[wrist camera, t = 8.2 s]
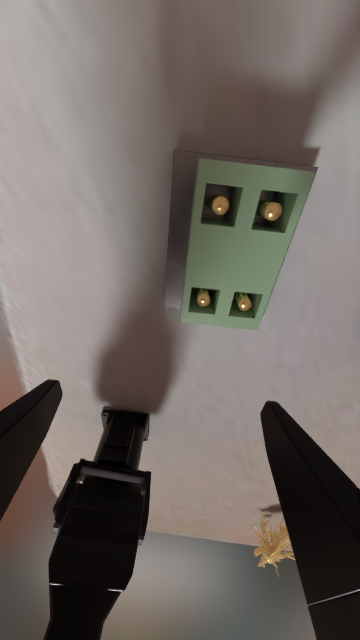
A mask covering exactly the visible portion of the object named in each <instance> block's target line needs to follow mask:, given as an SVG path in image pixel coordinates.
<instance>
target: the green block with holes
mask: <svg viewBox="0 0 360 640" xmlns="http://www.w3.org/2000/svg"><path fill="white" fill-rule="evenodd" d="M315 173H316V172H311V171H303V170H294V169H286V168H278V167H269V166H261V165H253V164H244V163H236V162H228V161H219V160H211V159H203V158H199V161H198V163H197V171H196V180H195V189H194V198H193V206H192V215H191V224H190V232H189V241H188V250H187V258H186V267H185V276H184V285H183V293H182V302H181V317H180V322H181V323H191V324H201V325H211V326H221V327H231V328H241V329H251V330H258V327H259V325H260V322H261V319H262V317H263V314H264V311H265V308H266V306H267V303H268V300H269V298H270V295H271V292H272V290H273V287H274V284H275V281H276V279H277V276H278V273H279V271H280V268H281V265H282V262H283V260H284V257H285V254H286V252H287V249H288V246H289V244H290V241H291V238H292V235H293V233H294V230H295V227H296V225H297V222H298V219H299V217H300V214H301V211H302V208H303V206H304V203H305V200H306V198H307V195H308V192H309V190H310V187H311V184H312V181H313V179H314V176H315ZM206 184H211V185H219V186H228V187H233V190H232V195H231V200H230V205H229V210H228V215H227V220H217V219H209V218H201V216H202V209H203V202H204V194H205V187H206ZM261 190H262V191H271V192H278V195H277V198H276V201H275V203H279V204H280V205H281V207H282V213H281V215H280V216H279V218H277V219H276V220H273V221H269V224H268V225H262V224H253V221H254V217H255V213H256V209H257V205H258V202H259V198H260V194H261ZM192 287H197V288H206V289H213V290H212V295H211V297H210V296H209V297H210V303H209V304H208V305H207V306H204V307H203V306H200V305H199V304H198V302H197V295H191V288H192ZM235 292H244V293H248V294H247V296H248V297H249V299H250V301H251V303H252V305H251V308H250V309H248V310H246V311H243V310H241V309H240V308H239V306H238V304H237V301H236V299H233V296H234V293H235Z"/></svg>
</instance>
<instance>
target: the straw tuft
mask: <svg viewBox="0 0 360 640" xmlns="http://www.w3.org/2000/svg"><path fill="white" fill-rule="evenodd" d="M265 512H266V511H265ZM264 515H265V513H264ZM264 515H263V517H264ZM263 517H262V520H263ZM281 518H282V517H281ZM270 519H271V518H270ZM270 519H269V520H270ZM283 519H284V518H283ZM262 520H261V529H262V532H263V536H264V533H265V536H266V537H267V538H266V539H265V537H264V538H263V536H262V534H261V533H258V532H257V534H258V535H257V534H256V536H255V537H262V539H261V540H260V541H259V542H260V543H261V542H264V543H263V544H262V543H261V544H262V546H261V545H260V547H258V548H256V549H255V551H254V554H255V556H256V557H257V555H259V554H263V555H262V557H261V558H262V559H261V561H260V563H258V564H259V566H262V565H263V566H264V564H265V563H270V564H271V563H273V564H274V562H275V561H278V560H279V559H281V558H282V559H283V558H284V557H286V556H287V557H288V558H289V557H290V555H293V554H294V553H287V554H286V555H285V556H283V557H281V556H282V555H281V554H278V553H281V552H280V551H282V549H284V548H288V547H286V546H288V545H287V544H288V542H289V541H290V540H289V541H288V540H287V539H289V538H288V537H287V536H288V531H287V528H286V526H284V527H283V522H282V527H283V528H282V527H281V521H280V524H279V525H280V532H279V534H278V533H277V535H276V530H275V533H274V539H275V538H276V539H275V541H276V542H275V541H274V539H273V534H272V535H271V531H269V532H270V538H271V537H272V538H271V541H270V542H268V537H269V535H267V534H269V532H268V530H267V529H268V528H267V529H266V531H265V528H266V525H267V523H268V522H269V520H268V521H267V522H262ZM264 521H265V520H264ZM263 523H264V524H263ZM265 523H266V524H265ZM276 523H277V522H276ZM253 527H254V526H253ZM277 528H278V526H277ZM255 529H256V527H255ZM275 529H276V526H275ZM269 530H270V527H269ZM264 531H265V532H264ZM286 531H287V532H286ZM273 532H274V529H273ZM280 533H281V534H280ZM283 539H284V540H283ZM285 539H286V540H287V541H288V542H286V541H285ZM266 540H267V541H266ZM273 541H274V542H273ZM284 542H285V543H286V544H285V543H284ZM269 543H272V544H274V545H270V544H269ZM281 543H284V545H281ZM289 545H291V543H290V544H289ZM280 546H281V547H282V548H281V547H280ZM284 550H286V549H284ZM263 551H264V552H263ZM286 551H288V550H286ZM286 551H285V552H286ZM283 554H284V553H283ZM278 557H279V558H278ZM291 558H292V557H291ZM277 559H278V560H277ZM292 559H293V558H292ZM294 560H295V559H294ZM274 565H275V564H274ZM275 566H276V565H275ZM276 567H277V566H276Z"/></svg>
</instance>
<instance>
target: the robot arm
mask: <svg viewBox="0 0 360 640" xmlns="http://www.w3.org/2000/svg"><path fill="white" fill-rule="evenodd" d="M61 399H62V389H61V386H60V382H59V381H58V380H51V379H49V380H46V381H45V382H43V383H42V384H40V385H39V386H37V387H36V388H34V389H33V390H31V391H30V392H28V393H27V394H25V395H24V396H22V397H21V398H19V399H18V400H16V401H15V402H13V403H12V404H10V405H9V406H7V407H6V408H4V409H3V410H1V411H0V521H1V519H2V517H3V515H4V513H5V512H6V509H7V508H8V506H9V504H10V502H11V500H12V498H13V497H14V494H15V493H16V491H17V489H18V487H19V485H20V483H21V482H22V480H23V478H24V476H25V474H26V472H27V470H28V469H29V467H30V465H31V463H32V461H33V459H34V457H35V455H36V454H37V452H38V450H39V448H40V446H41V444H42V442H43V441H44V439H45V437H46V435H47V432H48V430H49V428H50V425H51V423H52V421H53V418H54V416H55V413H56V411H57V408H58V406H59V404H60V401H61ZM101 417H102V422H103V428H104V431H103V434H102V437H101V440H100V443H99V445H98V448H97V451H96V454H95V457H94V460H93V461H87V460H85V459H82V458H81V460H80V462H79V463H76V464H74V465H73V467H72V470H71V472H70V475H69V477H68V479H67V481H66V483H65V485H64V487H63V489H62V491H61V493H60V495H59V497H58V499H57V501H56V503H55V505H54V508H53V513H54V517H55V519H54V522H53V523H54V526H53V530H52V534H58V536H57V539H56V542H55V544H54V547H53V550H52V553H51V555H50V558H49V595H50V621H49V624H48V627H47V630H46V634H45V637H44V640H100V637H101V633H102V628H103V623H104V621H105V619H106V618H107V616H108V614H109V612H110V610H111V609H112V607H113V605H114V604H115V602H116V600H117V598H118V597H119V595H120V593H121V591H124V590H125V588H126V587H127V584H128V583H129V580H130V578H131V577H132V574H133V568H134V563H135V558H136V552H137V547H138V545H141V544H142V542H143V539H144V536H145V531H146V527H147V521H148V514H149V500H150V482H151V472H150V471H146V472H145V471H140V470H138V467H139V461H140V456H141V450H142V444H143V441H147V440H148V420H149V416H148V415H147V414H142V413H131V412H120V411H109V410H103V411H102V413H101ZM261 423H262V429H263V435H264V441H265V447H266V452H267V457H268V461H269V464H270V468H271V472H272V475H273V479H274V483H275V486H276V490H277V494H278V498H279V501H280V505H281V509H282V512H283V516H284V520H285V523H286V527H287V531H288V535H289V538H290V542H291V546H292V549H293V553H294V557H295V560H296V564H297V568H298V572H299V575H300V579H301V583H302V586H303V590H304V594H305V597H306V601H307V604H308V609H309V612H310V617H311V620H312V624H313V628H314V631H315V635H316V639H317V640H360V489H359V488H357V487H356V485H355V484H354V483H353V482H352V481H351V479H350V478H349V477H348V476H347V475H346V474H345V473H344V472H343V471H342V470H341V469H340V468H339V467H338V466H337V465H336V464H335V463H334V462H333V460H332V459H331V458H330V457H329V456H328V455H327V454H326V453H325V452H324V451H323V450H322V449H321V448H320V447H319V446H318V445H317V444H316V442H315V441H314V440H313V439H312V438H311V437H310V436H309V435H308V434H307V433H306V432H305V431H304V430H303V429H302V428H301V427H300V426H299V425H298V423H297V422H296V421H295V420H294V419H293V418H292V417H291V416H290V415H289V414H288V413H287V412H286V411H285V410H284V409H283V408H282V407H281V405H280V404H279V403H277V402H275V401H267V402H266V403H265V405H264V407H263V409H262V411H261ZM80 481H83V483H82V484H81V483H80Z"/></svg>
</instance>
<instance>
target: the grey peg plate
mask: <svg viewBox="0 0 360 640" xmlns="http://www.w3.org/2000/svg"><path fill="white" fill-rule="evenodd" d="M199 158H203V159H211V160H219V161H228V162H236V163H244V164H253V165H261V166H269V167H278V168H286V169H294V170H303V171H311V172H317V169H318V167H312V166H303V165H295V164H287V163H278V162H270V161H261V160H253V159H245V158H236V157H228V156H220V155H211V154H203V153H194V152H186V151H178V150H174V158H173V173H172V189H171V205H170V221H169V237H168V253H167V268H166V284H165V300H164V307H172V308H181V302H182V293H183V285H184V276H185V267H186V258H187V250H188V241H189V232H190V224H191V215H192V206H193V198H194V189H195V180H196V171H197V163H198V161H199ZM315 175H316V173H315ZM314 178H315V176H314ZM313 180H314V179H313ZM312 183H313V181H312ZM311 186H312V184H311ZM310 188H311V187H310ZM232 190H233V187H228V186H219V185H211V184H206V187H205V194H204V202H203V209H202V216H201V218H209V219H217V220H227V215H228V210H229V205H230V200H231V195H232ZM309 191H310V190H309ZM308 194H309V192H308ZM277 195H278V192H271V191H262V190H261V194H260V198H259V202H258V205H257V209H256V213H255V217H254V221H253V224H262V225H268V224H269V221H273V220H276V219H277V218H279V216H280V215H281V213H282V207H281V205H280V204H279V203H275V201H276V198H277ZM307 196H308V195H307ZM306 199H307V198H306ZM305 202H306V200H305ZM304 205H305V203H304ZM303 207H304V206H303ZM302 210H303V208H302ZM301 213H302V211H301ZM300 215H301V214H300ZM299 218H300V217H299ZM298 221H299V219H298ZM297 223H298V222H297ZM296 226H297V225H296ZM295 229H296V227H295ZM294 232H295V230H294ZM293 234H294V233H293ZM292 237H293V235H292ZM291 240H292V238H291ZM290 242H291V241H290ZM289 245H290V244H289ZM288 248H289V246H288ZM287 250H288V249H287ZM286 253H287V252H286ZM285 256H286V254H285ZM284 259H285V257H284ZM283 261H284V260H283ZM282 264H283V262H282ZM281 267H282V265H281ZM280 269H281V268H280ZM279 272H280V271H279ZM278 275H279V273H278ZM277 277H278V276H277ZM276 280H277V279H276ZM275 283H276V281H275ZM274 286H275V284H274ZM273 288H274V287H273ZM212 290H213V289H206V288H197V287H192V288H191V295H197V302H198V304H199V305H200V306H203V307H204V306H207V305H208V304H209V303H210V297H211V295H212ZM272 291H273V290H272ZM247 294H248V293H244V292H235V293H234V296H233V299H236V301H237V304H238V306H239V308H240V309H241V310H243V311H246V310H248V309H250V308H251V305H252V303H251V301H250V299H249V297H248V296H247ZM271 294H272V292H271ZM209 296H210V297H209ZM270 296H271V295H270ZM269 299H270V298H269ZM268 302H269V300H268ZM267 304H268V303H267ZM266 307H267V306H266ZM265 310H266V308H265ZM264 313H265V311H264ZM263 315H264V314H263Z"/></svg>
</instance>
